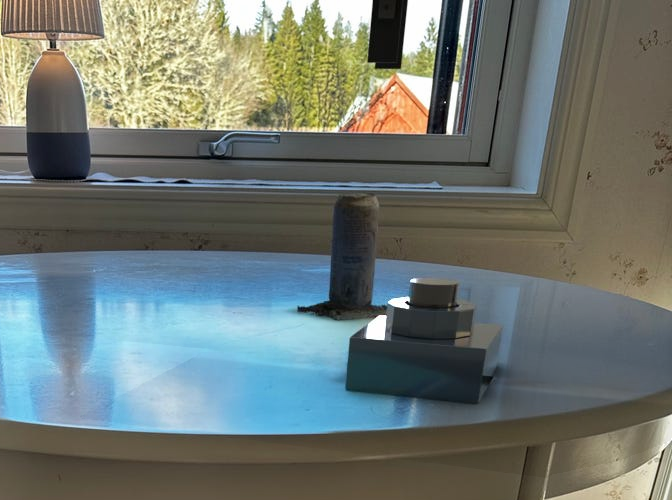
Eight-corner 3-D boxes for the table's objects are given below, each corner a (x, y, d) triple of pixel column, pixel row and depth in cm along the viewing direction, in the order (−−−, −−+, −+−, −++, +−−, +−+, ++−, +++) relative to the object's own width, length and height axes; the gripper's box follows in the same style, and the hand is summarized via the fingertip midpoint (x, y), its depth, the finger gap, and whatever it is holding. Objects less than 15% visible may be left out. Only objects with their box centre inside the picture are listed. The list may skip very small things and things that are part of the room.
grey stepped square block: (495, 375, 78) (507, 298, 75) (477, 404, 70) (490, 319, 67) (374, 363, 81) (381, 289, 78) (344, 390, 73) (351, 309, 70)
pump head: (458, 307, 74) (462, 279, 73) (451, 315, 71) (455, 286, 70) (412, 304, 75) (415, 276, 74) (403, 311, 72) (406, 282, 71)
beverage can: (343, 330, 94) (354, 196, 88) (292, 318, 100) (299, 191, 94) (407, 321, 99) (422, 193, 93) (355, 310, 104) (365, 189, 98)
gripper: (376, -175, 96) (355, 70, 106) (360, -258, 75) (336, 59, 85) (452, -178, 95) (424, 71, 105) (458, -264, 73) (422, 59, 83)
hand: (385, 66), depth 95 cm, fingers open, 13 cm apart
